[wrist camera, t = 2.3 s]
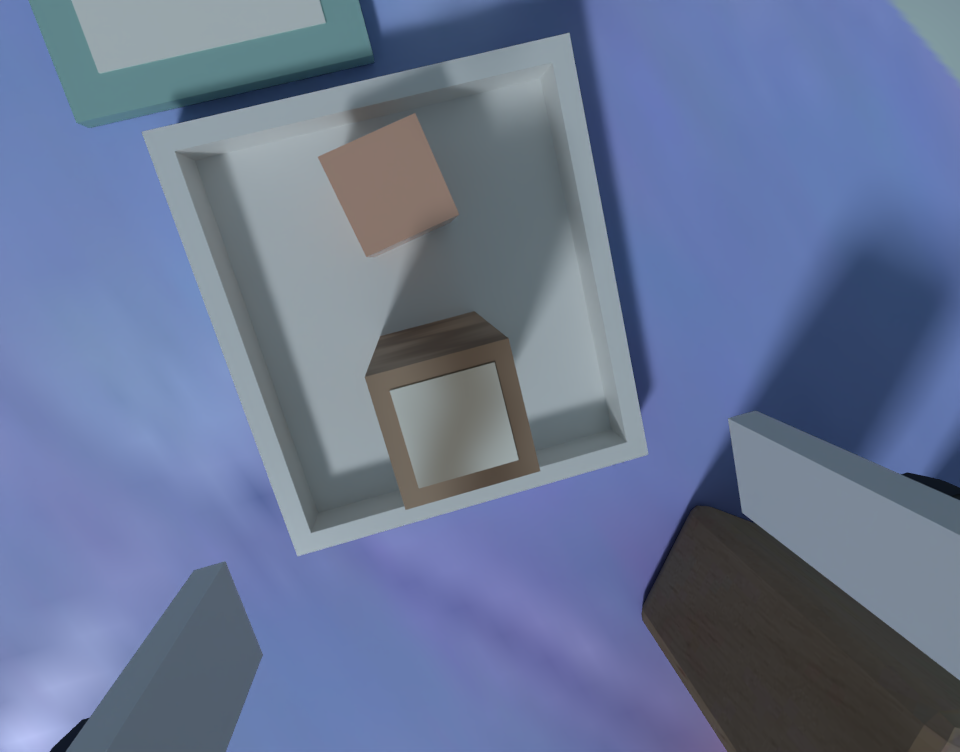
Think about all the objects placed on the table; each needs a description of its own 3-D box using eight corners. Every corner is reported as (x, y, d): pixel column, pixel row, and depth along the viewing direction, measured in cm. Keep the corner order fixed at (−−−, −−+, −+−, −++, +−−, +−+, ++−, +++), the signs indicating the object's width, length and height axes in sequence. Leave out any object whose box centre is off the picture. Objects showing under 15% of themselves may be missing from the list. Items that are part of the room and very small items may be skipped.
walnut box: (406, 426, 35) (405, 510, 23) (379, 336, 34) (364, 377, 22) (497, 401, 35) (540, 471, 24) (474, 311, 34) (508, 338, 22)
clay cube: (374, 257, 33) (366, 257, 27) (334, 175, 31) (317, 156, 26) (450, 222, 33) (459, 214, 27) (413, 140, 32) (415, 112, 26)
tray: (307, 528, 36) (297, 556, 33) (171, 145, 31) (141, 131, 27) (626, 436, 38) (648, 454, 35) (552, 56, 32) (569, 32, 29)
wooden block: (631, 614, 41) (832, 933, 22) (691, 496, 40) (962, 724, 20) (741, 648, 43) (1016, 970, 24) (802, 537, 42) (1147, 782, 22)
